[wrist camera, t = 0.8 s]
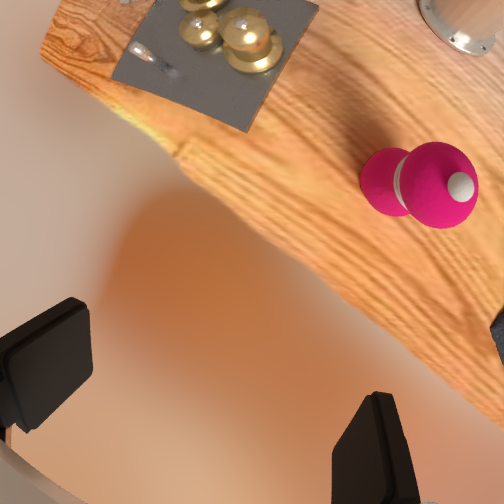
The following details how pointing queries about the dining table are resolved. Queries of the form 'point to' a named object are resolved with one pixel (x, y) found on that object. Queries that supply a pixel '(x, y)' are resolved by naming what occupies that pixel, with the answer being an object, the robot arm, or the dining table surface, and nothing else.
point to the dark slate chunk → (499, 335)
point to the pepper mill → (422, 184)
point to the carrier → (215, 53)
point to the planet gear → (130, 2)
